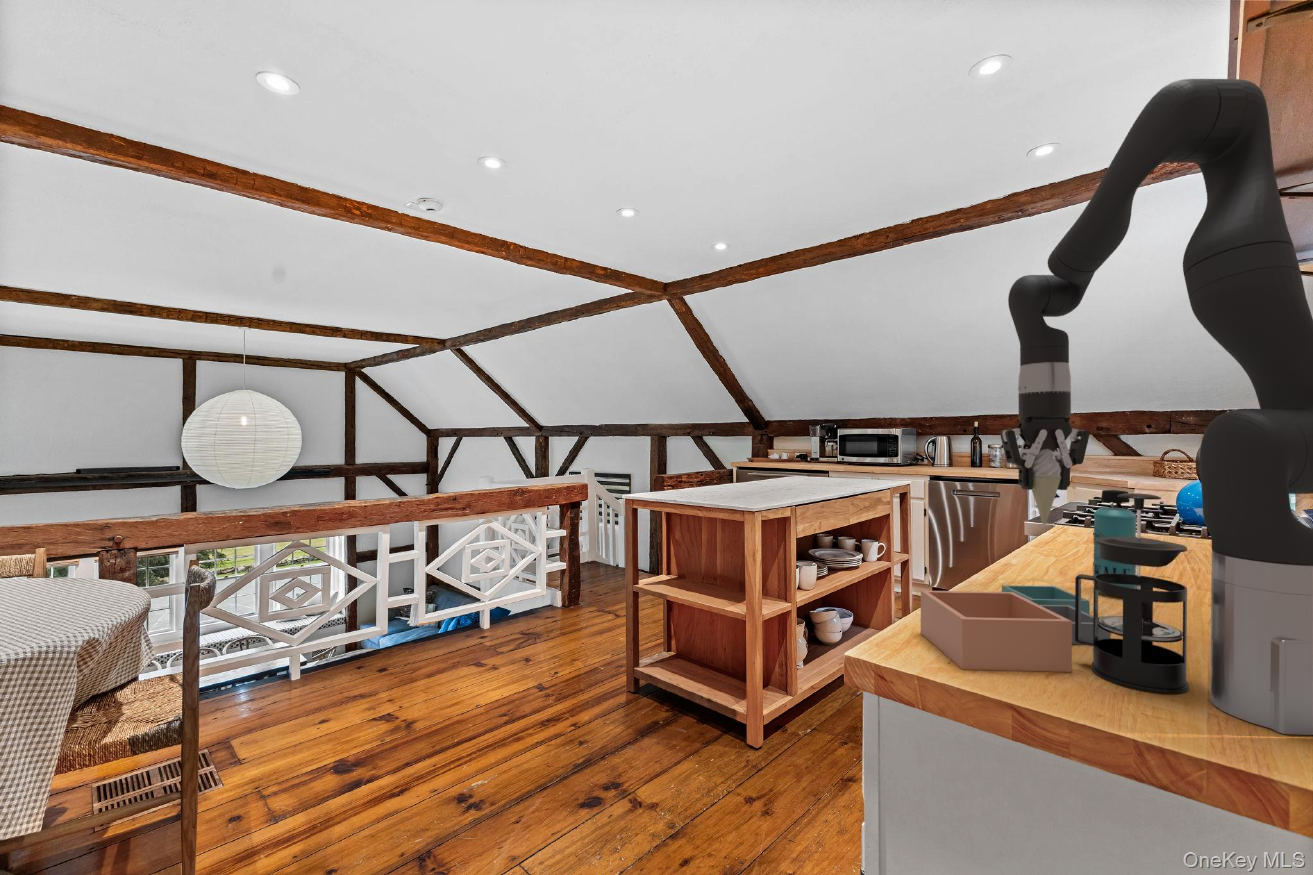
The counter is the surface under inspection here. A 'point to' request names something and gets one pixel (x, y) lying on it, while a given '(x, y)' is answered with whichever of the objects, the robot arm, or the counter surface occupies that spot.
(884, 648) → the counter surface
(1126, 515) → the beverage bottle
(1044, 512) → the ice cream cone
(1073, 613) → the frame
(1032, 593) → the crate
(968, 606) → the bin
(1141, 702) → the counter surface
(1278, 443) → the robot arm
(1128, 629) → the french press
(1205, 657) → the counter surface
